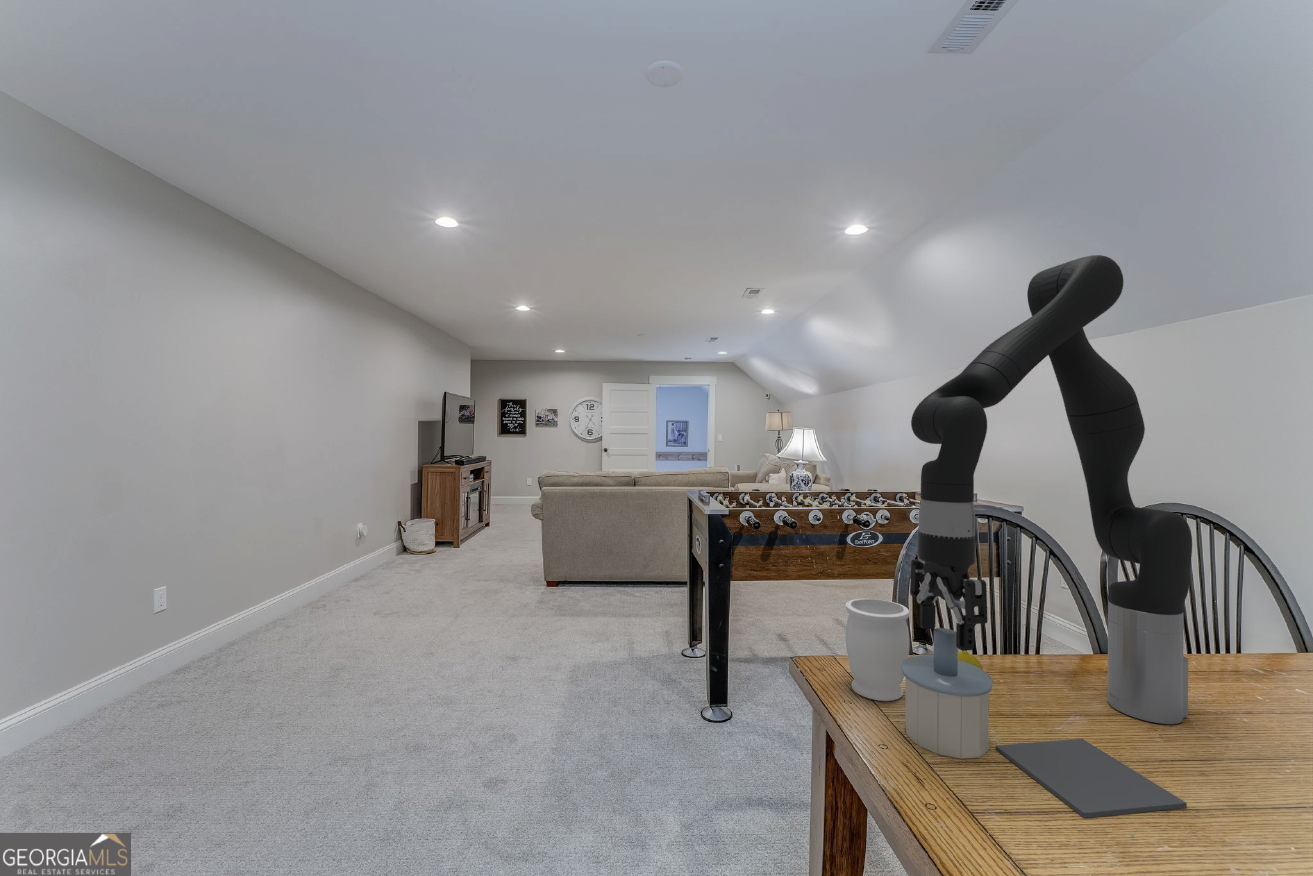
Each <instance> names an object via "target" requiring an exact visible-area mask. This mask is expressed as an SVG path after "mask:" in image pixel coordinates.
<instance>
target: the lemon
mask: <svg viewBox="0 0 1313 876" xmlns="http://www.w3.org/2000/svg"><path fill="white" fill-rule="evenodd" d="M958 660H960V661H963V662H966V663H969V664H972V665H974V666H976V667H978V668H980V669H982V670H983V666H982V664H981V662H980V660H979V659H978V658H977V657H976V656H975V655H973V654H971V653H969V652H968V650H963V651H962V650H961V651H958Z"/></svg>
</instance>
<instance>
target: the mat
mask: <svg viewBox="0 0 1313 876" xmlns="http://www.w3.org/2000/svg"><path fill="white" fill-rule="evenodd" d="M995 751H997V752H998V753H999V754H1001V755H1002V756H1003V757H1004V758H1006V759H1007V760H1008V761H1009V762H1011V763H1012V764H1013V765H1015V767H1018V769H1020V770H1021V771H1022V772H1024V773H1025V774H1026V775H1028V776H1029V777H1030V778H1032V779H1033V780H1034V781H1035V782H1037V783H1038V784H1039V785H1041V786H1042V787H1043V788H1044V789H1045V790H1046V791H1048V792H1049V793H1051V794H1052V795H1054V796H1055V797H1056V798H1057V799H1059V801H1061V802H1062V803H1064V804H1065V805H1066V806H1068V807H1069V808H1070V809H1072V810H1073V811H1074V812H1076V813H1077V814H1078V815H1080V816H1081V817H1082V818H1083V819H1088V818H1098V817H1107V816H1109V817H1110V816H1118V815H1126V814H1139V813H1146V812H1157V811H1159V812H1160V811H1167V810H1178V809H1185V808H1186V809H1187V808H1188V807H1187V806H1188V805H1187V801H1184V800H1183V799H1181V798H1180V797H1178V796H1176V795H1175V794H1173V793H1171V792H1170V791H1168V790H1166V789H1165V788H1163V787H1161V786H1160V785H1158V784H1157V783H1155V782H1154V781H1152V780H1150V779H1149V778H1148V777H1145V776H1143V774H1140V773H1139V772H1137V771H1136V770H1134V769H1132V768H1130V767H1129V766H1128V765H1126V764H1125V763H1123V762H1121V761H1120V760H1118V759H1116V758H1115V757H1113V756H1111V755H1110V754H1108V753H1106V752H1105V751H1103V750H1102V749H1100V748H1098V747H1097V746H1095V745H1093V744H1092V743H1090V742H1089V741H1087V740H1085V739H1084V738H1075V739H1074V738H1073V739H1061V740H1059V739H1058V740H1048V741H1047V740H1046V741H1038V742H1037V741H1036V742H1033V741H1032V742H1025V743H1024V742H1023V743H1012V744H1010V743H1009V744H997V745H995Z"/></svg>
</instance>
